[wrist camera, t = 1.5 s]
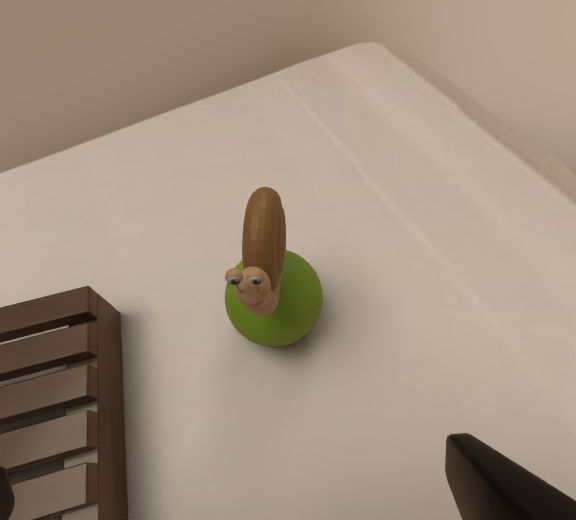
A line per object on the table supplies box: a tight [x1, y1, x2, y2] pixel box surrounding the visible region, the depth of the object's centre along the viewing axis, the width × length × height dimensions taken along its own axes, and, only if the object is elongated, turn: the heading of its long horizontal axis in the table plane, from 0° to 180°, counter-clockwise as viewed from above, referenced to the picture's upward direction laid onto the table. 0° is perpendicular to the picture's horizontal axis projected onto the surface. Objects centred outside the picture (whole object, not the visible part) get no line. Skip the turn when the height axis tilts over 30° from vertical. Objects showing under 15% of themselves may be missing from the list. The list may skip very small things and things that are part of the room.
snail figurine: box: [225, 187, 323, 347], centre depth 18 cm, size 5×6×12 cm
